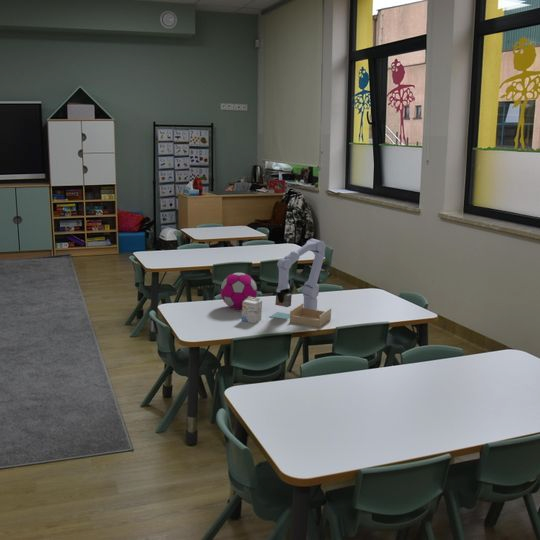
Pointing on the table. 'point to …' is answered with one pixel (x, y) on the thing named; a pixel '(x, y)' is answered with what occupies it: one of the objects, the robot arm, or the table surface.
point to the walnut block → (284, 300)
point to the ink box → (252, 310)
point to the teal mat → (281, 315)
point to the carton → (309, 316)
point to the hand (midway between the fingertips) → (282, 301)
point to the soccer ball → (238, 289)
